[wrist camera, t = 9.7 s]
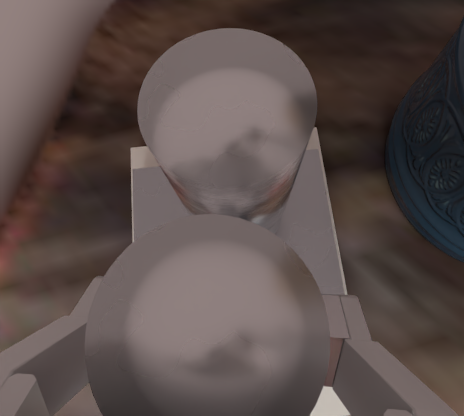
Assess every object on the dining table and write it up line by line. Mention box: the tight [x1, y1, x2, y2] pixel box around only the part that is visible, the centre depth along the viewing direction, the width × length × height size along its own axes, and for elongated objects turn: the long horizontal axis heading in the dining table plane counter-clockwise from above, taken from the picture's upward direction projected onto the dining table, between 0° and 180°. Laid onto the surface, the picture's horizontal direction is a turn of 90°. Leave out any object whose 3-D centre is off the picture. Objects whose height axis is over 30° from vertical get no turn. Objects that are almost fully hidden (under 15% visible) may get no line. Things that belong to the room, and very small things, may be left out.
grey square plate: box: [132, 149, 345, 295], centre depth 18 cm, size 10×11×1 cm
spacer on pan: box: [137, 28, 317, 234], centre depth 14 cm, size 4×4×10 cm
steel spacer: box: [85, 214, 330, 416], centre depth 11 cm, size 4×4×10 cm
